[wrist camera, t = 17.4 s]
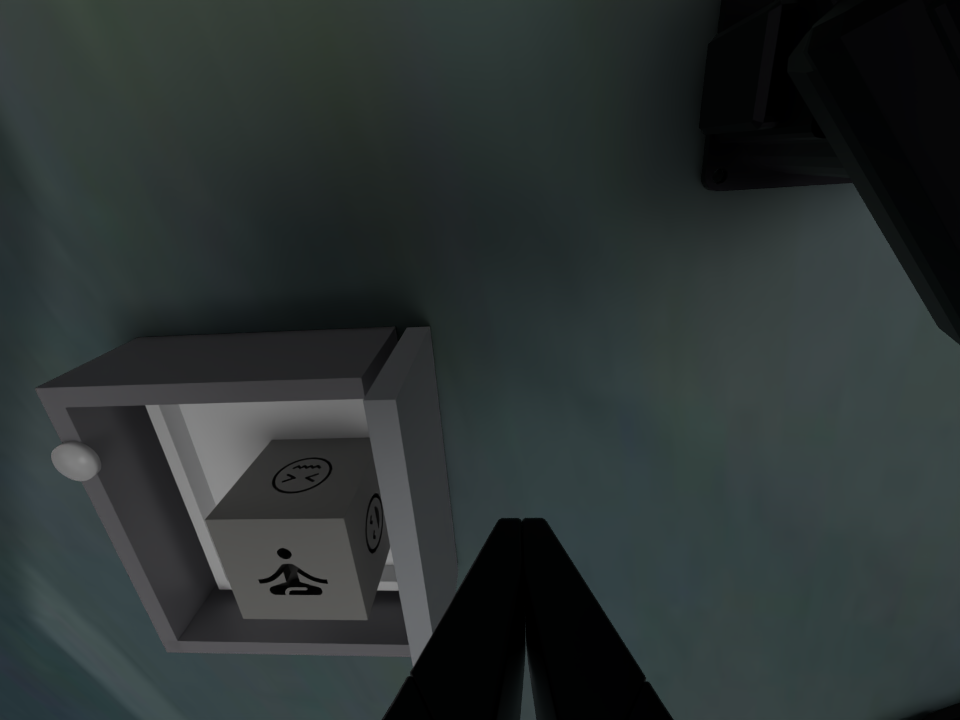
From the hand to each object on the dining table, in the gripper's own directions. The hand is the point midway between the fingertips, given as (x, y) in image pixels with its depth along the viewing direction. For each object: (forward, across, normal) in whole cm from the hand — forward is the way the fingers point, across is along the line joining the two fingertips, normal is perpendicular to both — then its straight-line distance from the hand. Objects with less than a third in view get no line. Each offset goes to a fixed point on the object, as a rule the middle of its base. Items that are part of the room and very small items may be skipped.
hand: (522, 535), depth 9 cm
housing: (+12, +11, +7) cm, 18 cm away
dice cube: (+11, +9, +7) cm, 15 cm away
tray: (+12, +10, +7) cm, 17 cm away
